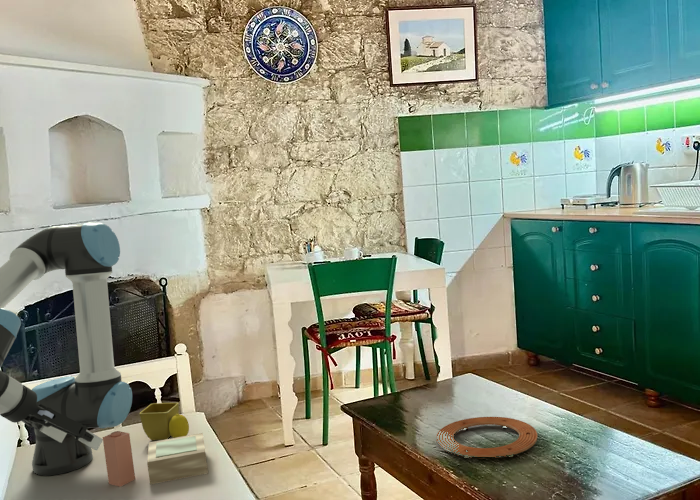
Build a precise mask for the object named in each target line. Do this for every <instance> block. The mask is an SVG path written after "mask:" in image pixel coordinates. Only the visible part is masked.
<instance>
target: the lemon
mask: <svg viewBox="0 0 700 500" xmlns="http://www.w3.org/2000/svg"><path fill="white" fill-rule="evenodd" d="M169 431H170V434H171V438H177V437H182V436H188V434H189V431H190V425H189V420H188V418H187V417H186V416H185V415H183V414H180V413H179V414H176V415H175V416H173V417H172V418H171V420H170V423H169Z"/></svg>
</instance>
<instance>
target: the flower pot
mask: <svg viewBox="0 0 700 500" xmlns="http://www.w3.org/2000/svg"><path fill="white" fill-rule="evenodd" d="M179 404H180V403H179V402H160V403H159V402H157V403H150V404H149V405H148V406H147V407H144V409H142V410H141V411H140V412H139V413H138V415H139V418H140V422H141V426H142V429H143V431H144V434H145V435H146V436H147V437H148V438H149V439H150V441H160V440H165V439H168V438H169V437H170V436H171V434H170V431H169V423H170V420H171V418H172V417H173V416H175V415H176V414H179V415H180V413H179V409H180V407H179V406H180V405H179ZM171 437H172V436H171ZM171 437H170V438H171ZM170 438H169V439H170Z"/></svg>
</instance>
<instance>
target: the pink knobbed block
mask: <svg viewBox="0 0 700 500" xmlns="http://www.w3.org/2000/svg"><path fill="white" fill-rule="evenodd" d="M102 439H103V441H102V443H103V451H104V459H105V466H106V472H107V481H108V484H109V485H112V486H116V487H121V488H122V487H123V486H125V485H128V484H129V483H132V482H133V481H135V480H136V474H135V468H134V467H135V466H134V460H133V452H132V451H133V450H132V443H131V437H130V433H129V432H125V431H120V430H117V431H112V432H111V433H109V434H107V435H105V436H103V437H102Z"/></svg>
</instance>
